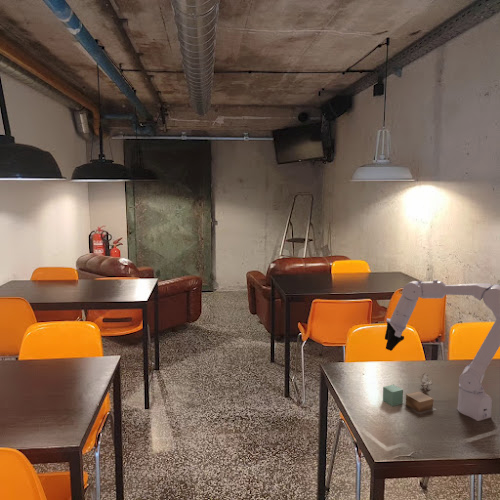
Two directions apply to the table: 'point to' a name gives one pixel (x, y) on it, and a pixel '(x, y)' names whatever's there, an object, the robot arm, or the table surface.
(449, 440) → the table surface
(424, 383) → the soldier figure
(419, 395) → the walnut base block
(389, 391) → the teal block
